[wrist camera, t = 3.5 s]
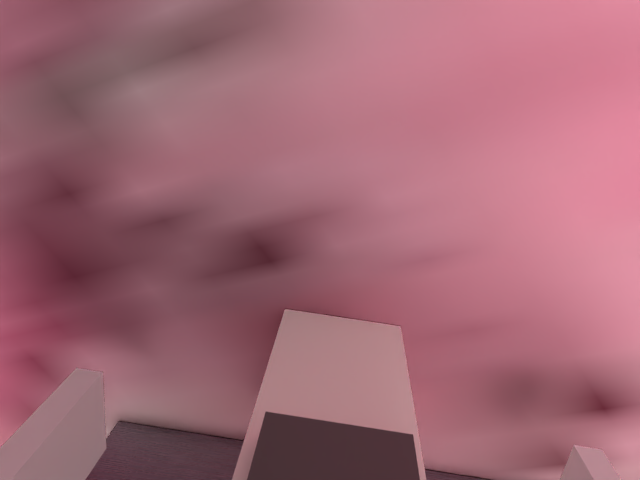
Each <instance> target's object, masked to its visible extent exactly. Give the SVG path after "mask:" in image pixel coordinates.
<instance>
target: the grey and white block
mask: <svg viewBox="0 0 640 480" xmlns="http://www.w3.org/2000/svg"><path fill="white" fill-rule="evenodd" d="M243 442H244V441H240V440H234V439H227V438H221V437H215V436H208V435H202V434H196V433H189V432H183V431H177V430H171V429H164V428H158V427H152V426H145V425H139V424H133V423H126V422H120V421H118V423H117V424H116V426H115V427H114V429H113V430H112V432H111V433H110V435H109V436H108V437H107V439H106V450H105V451H104V453H103V454H102V456H101V457H100V459H99V460H98V462H97V463H96V465H95V466H94V468H93V469H92V471H91V472H90V474H89V475H88V476H87V478H86V479H85V480H232V478H233V474H234V471H235V468H236V465H237V461H238V458H239V455H240V452H241V449H242V445H243ZM425 474H426V480H487V479H481V478H474V477H468V476H462V475H455V474H449V473H443V472H436V471H430V470H425Z"/></svg>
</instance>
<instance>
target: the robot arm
mask: <svg viewBox="0 0 640 480" xmlns="http://www.w3.org/2000/svg"><path fill="white" fill-rule="evenodd" d="M105 450H106V426H105V404H104V382H103V372H101V371H94V370H88V369H81V368H76V369H75V370H74V371H73V372H72V373H71V374H70V375H69V376H68V377H67V378H66V379H65V380H64V381H63V382H62V383H61V385H60V386H59V387H58V388H57V389H56V390H55V391H54V392H53V393H52V394H51V395H50V396H49V397H48V398H47V399H46V400H45V401H44V402H43V403H42V404H41V405H40V407H39V408H38V409H37V410H36V411H35V412H34V413H33V414H32V415H31V416H30V417H29V418H28V419H27V420H26V421H25V422H24V423H23V424H22V425H21V426H20V427H19V429H18V430H17V431H16V432H15V433H14V434H13V435H12V436H11V437H10V438H9V439H8V440H7V441H6V442H5V443H4V444H3V445H2V446H1V447H0V480H85V479H86V478H87V476H88V475H89V474H90V472H91V471H92V469H93V468H94V466H95V465H96V463H97V462H98V460H99V459H100V457H101V456H102V454H103V453H104V451H105ZM560 480H622V479H621V478H620V476H619V475H618V473H617V471H616V470H615V468H614V467H613V465H612V464H611V462H610V461H609V459H608V458H607V456H606V455H605V453H604V451H603V450H602V449H597V448H591V447H584V446H578V445H573V448H572V450H571V453H570V455H569V458H568V460H567V463H566V465H565V468H564V470H563V473H562V475H561V478H560Z"/></svg>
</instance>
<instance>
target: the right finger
mask: <svg viewBox="0 0 640 480" xmlns="http://www.w3.org/2000/svg"><path fill="white" fill-rule="evenodd" d="M232 480H426V474H425V468H424V462H423V456H422V450H421V444H420V438H419V432H418V426H417V420H416V414H415V408H414V402H413V396H412V391H411V385H410V379H409V373H408V367H407V361H406V355H405V349H404V343H403V337H402V331H401V326H396V325H390V324H383V323H376V322H370V321H363V320H356V319H349V318H343V317H336V316H329V315H323V314H316V313H309V312H303V311H296V310H289V309H285V310H284V313H283V317H282V320H281V323H280V326H279V329H278V333H277V336H276V339H275V342H274V346H273V349H272V352H271V355H270V358H269V362H268V365H267V368H266V371H265V375H264V378H263V381H262V384H261V387H260V391H259V394H258V397H257V400H256V403H255V407H254V410H253V413H252V416H251V420H250V423H249V426H248V429H247V432H246V436H245V439H244V442H243V445H242V449H241V452H240V455H239V458H238V461H237V465H236V468H235V471H234V474H233V478H232Z"/></svg>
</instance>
